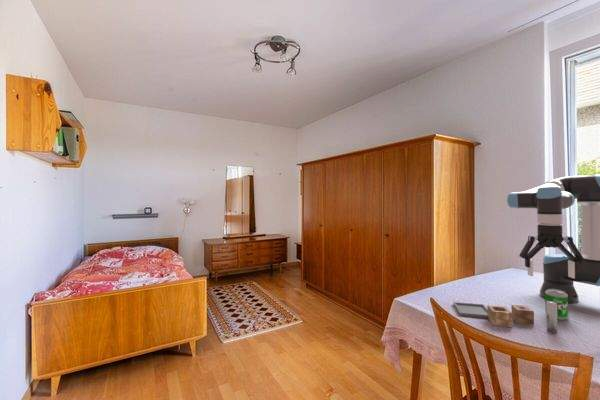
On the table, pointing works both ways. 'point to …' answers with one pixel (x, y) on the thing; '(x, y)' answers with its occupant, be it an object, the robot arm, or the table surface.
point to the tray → (471, 310)
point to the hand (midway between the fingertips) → (550, 276)
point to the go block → (499, 315)
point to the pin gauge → (551, 316)
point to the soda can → (558, 302)
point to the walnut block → (522, 314)
